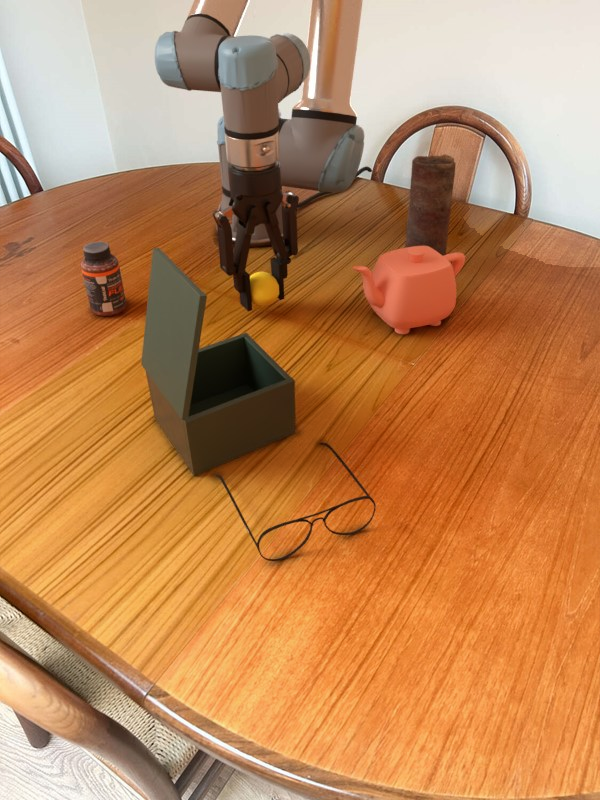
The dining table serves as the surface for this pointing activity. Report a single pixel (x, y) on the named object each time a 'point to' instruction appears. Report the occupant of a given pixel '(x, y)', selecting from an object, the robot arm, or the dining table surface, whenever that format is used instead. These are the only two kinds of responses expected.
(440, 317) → the teapot
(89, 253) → the supplement bottle
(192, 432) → the chest
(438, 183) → the candle
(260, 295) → the lemon
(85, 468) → the dining table surface
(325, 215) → the dining table surface
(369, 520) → the glasses
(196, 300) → the lid
